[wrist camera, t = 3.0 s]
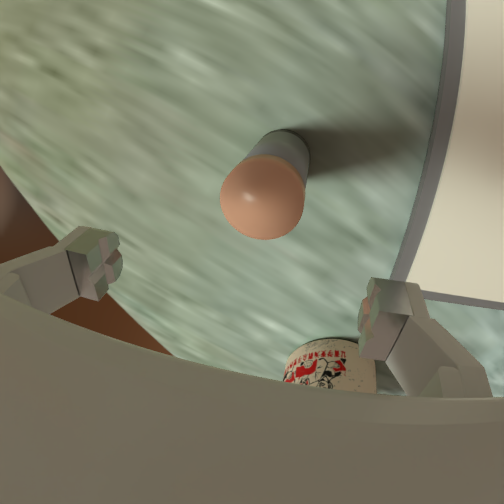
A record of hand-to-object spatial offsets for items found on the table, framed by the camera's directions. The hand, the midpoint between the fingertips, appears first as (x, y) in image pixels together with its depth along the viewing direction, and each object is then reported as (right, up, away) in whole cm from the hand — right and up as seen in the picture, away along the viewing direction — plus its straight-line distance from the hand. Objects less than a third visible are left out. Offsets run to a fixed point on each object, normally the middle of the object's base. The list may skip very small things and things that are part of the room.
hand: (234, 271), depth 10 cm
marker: (+2, +7, +10) cm, 12 cm away
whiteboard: (+18, +7, +5) cm, 20 cm away
